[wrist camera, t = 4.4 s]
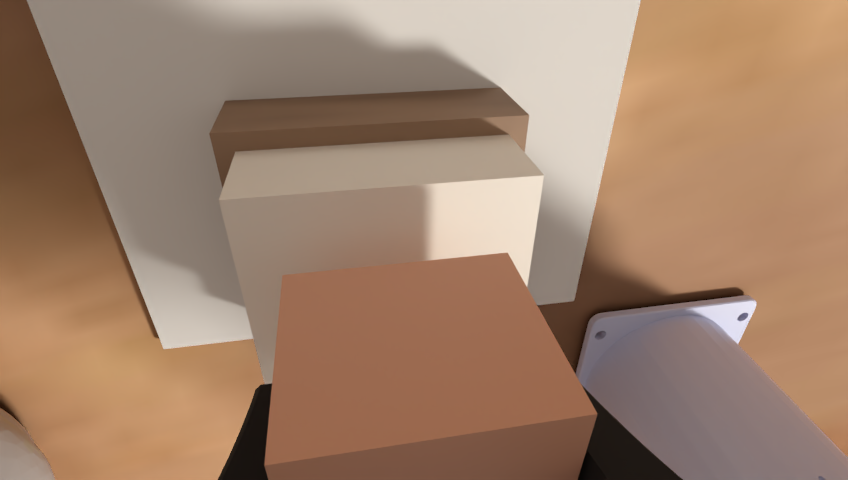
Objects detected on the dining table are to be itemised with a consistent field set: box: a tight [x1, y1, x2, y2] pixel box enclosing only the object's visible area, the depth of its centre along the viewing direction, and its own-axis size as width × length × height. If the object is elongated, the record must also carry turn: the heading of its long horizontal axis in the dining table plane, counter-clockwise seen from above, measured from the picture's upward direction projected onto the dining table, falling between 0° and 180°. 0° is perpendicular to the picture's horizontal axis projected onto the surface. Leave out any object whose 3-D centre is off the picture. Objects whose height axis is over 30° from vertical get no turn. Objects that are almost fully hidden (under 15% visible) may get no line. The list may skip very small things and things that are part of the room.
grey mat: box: [27, 0, 641, 349], centre depth 14 cm, size 20×16×1 cm
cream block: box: [219, 134, 544, 384], centre depth 14 cm, size 7×7×2 cm
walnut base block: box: [209, 87, 529, 188], centre depth 16 cm, size 8×8×2 cm
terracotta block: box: [264, 253, 597, 480], centre depth 10 cm, size 4×4×4 cm
